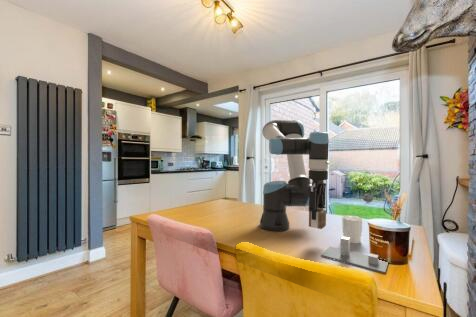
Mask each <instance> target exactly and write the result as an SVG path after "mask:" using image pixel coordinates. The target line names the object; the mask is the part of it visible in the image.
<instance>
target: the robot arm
mask: <svg viewBox="0 0 476 317" xmlns="http://www.w3.org/2000/svg"><path fill="white" fill-rule="evenodd" d="M262 136H263V137H264V139H266V140H268V149H269V153H270V154H271V155H277V156H278V155H281V156H283V155H285V156H286V159H287V164H288V165H287V166H288V173H289V178H290V179H289V180H288V181H286V180H274V181H269V182H265V183H264V184H263V190H262V193H263V194H262V196H263V199H262V200H263V201H262V202H263V204H262V205H263V206H262V209H263V211H262V213H261V217H260V220H259V227H260V228H261V229H263V230H266V231H271V232H281V231H282V232H283V231H288V230H289V229H290V220H289V217H288V214H287V207H308V212H309V211H311V228H314V229H318V212H317V210H318V209H322V210H324V209H326V208H327V207H326V189H327V188H326V187H327V183H326V182H324V181H327V180H328V178H329V171H328V169H329V165H330V162H329V147H330V146H329V142H330V140H329V139H330V138H329V132H325V131H312V132H309V135H308V136H309V137H304V136H305V128H304V124H303V122H302V121H301V120H297V119H292V120H288V119H287V120H283V119H282V120H281V119H275V120H270V121H268V122H267V123H265V124H264V126H263V127H262ZM303 155H304V156H305V155H308V169H309V170H308V176H307V173H306V172H307V171H306V168H305V167H306V166H305V162H304V156H303ZM311 180H312V181H311Z"/></svg>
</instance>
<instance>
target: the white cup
mask: <svg viewBox="0 0 476 317" xmlns="http://www.w3.org/2000/svg"><path fill="white" fill-rule="evenodd" d="M341 220H342V224H341V225H342V234H343V235H342V236H344V237H349V238H350V244H359V243H361V240H362V239H361V238H362V231H363V230H362V229H363V217H360V216H356V215H351V214H350V215H343V216H341Z"/></svg>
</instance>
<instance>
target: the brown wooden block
mask: <svg viewBox="0 0 476 317" xmlns="http://www.w3.org/2000/svg"><path fill="white" fill-rule="evenodd" d="M317 212H318V228H317V229H319V230H322V229H323V228H325V227H326V226H327V223H326V222H327V210H326V209H323V210H322V209H318V210H317ZM308 227H309V228H310V227H311V211H309V210H308ZM311 228H312V227H311Z"/></svg>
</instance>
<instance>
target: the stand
mask: <svg viewBox="0 0 476 317" xmlns="http://www.w3.org/2000/svg"><path fill="white" fill-rule="evenodd" d="M340 253H341V248H337V247H334V246H329V247H328V248H326V250H324V251H323V253H321V254H320V257H322V256H324V257H323V258H325V257H328V258H327V259H329V258H331V259H330V260H333V259H335V260H334V261H336V260H339V261H338V262H340V261H342V262H341V263H344V262H345V263H344V264H347V263H349V264H348V265H351V264H352V266H355V267H358V268H363V269H365V270H369V271H373V272H377V273H380V274H384V275H386V273H387V270H388V266H389V264H388V262H385V261H382V260H379V259H378V258H379V254H375V253H369V254H363V253H359V252H355V251H351V250H350V256H349V257H344V256H340Z"/></svg>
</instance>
